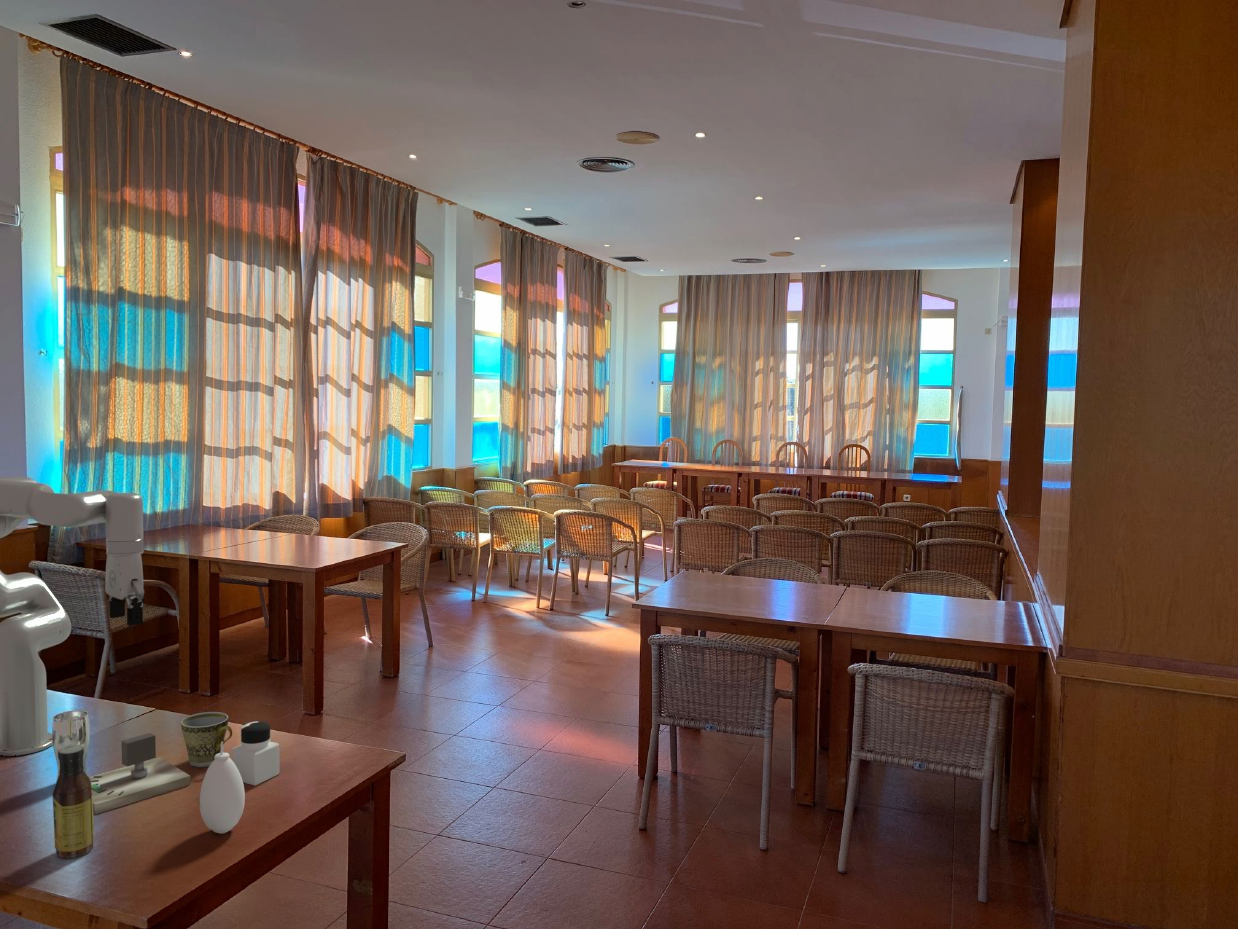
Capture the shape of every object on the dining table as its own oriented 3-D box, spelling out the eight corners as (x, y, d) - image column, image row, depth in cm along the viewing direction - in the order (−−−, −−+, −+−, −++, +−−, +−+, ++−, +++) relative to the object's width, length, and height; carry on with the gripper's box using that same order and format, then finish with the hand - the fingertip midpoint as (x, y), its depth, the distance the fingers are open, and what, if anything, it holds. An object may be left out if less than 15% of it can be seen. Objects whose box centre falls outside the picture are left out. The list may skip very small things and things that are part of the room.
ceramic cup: (171, 765, 207) (170, 723, 206) (206, 750, 216) (205, 709, 215) (214, 775, 202) (214, 731, 201) (248, 759, 211) (248, 717, 210)
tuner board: (67, 792, 192) (67, 782, 192) (159, 765, 206) (159, 756, 206) (95, 814, 182) (95, 803, 182) (190, 784, 197) (190, 774, 197)
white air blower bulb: (227, 818, 182) (226, 730, 180) (253, 828, 178) (252, 738, 176) (191, 834, 175) (190, 743, 174) (217, 845, 171) (216, 752, 170)
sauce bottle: (66, 844, 170) (63, 740, 169) (100, 843, 171) (98, 740, 169) (47, 862, 164) (44, 754, 162) (83, 861, 164) (80, 754, 163)
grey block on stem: (96, 785, 190) (96, 747, 190) (149, 769, 199) (148, 732, 199) (104, 789, 188) (103, 751, 188) (156, 772, 197) (156, 735, 197)
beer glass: (73, 791, 193) (71, 722, 192) (45, 787, 194) (43, 719, 193) (98, 778, 199) (97, 711, 198) (71, 774, 201) (69, 708, 200)
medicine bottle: (280, 774, 203) (279, 722, 202) (255, 786, 197) (254, 732, 196) (256, 768, 206) (256, 716, 205) (231, 780, 200) (230, 726, 199)
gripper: (92, 544, 210) (93, 617, 212) (123, 554, 199) (124, 630, 200) (126, 540, 216) (127, 611, 217) (158, 550, 205) (159, 624, 206)
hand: (126, 620), depth 209 cm, fingers open, 9 cm apart
